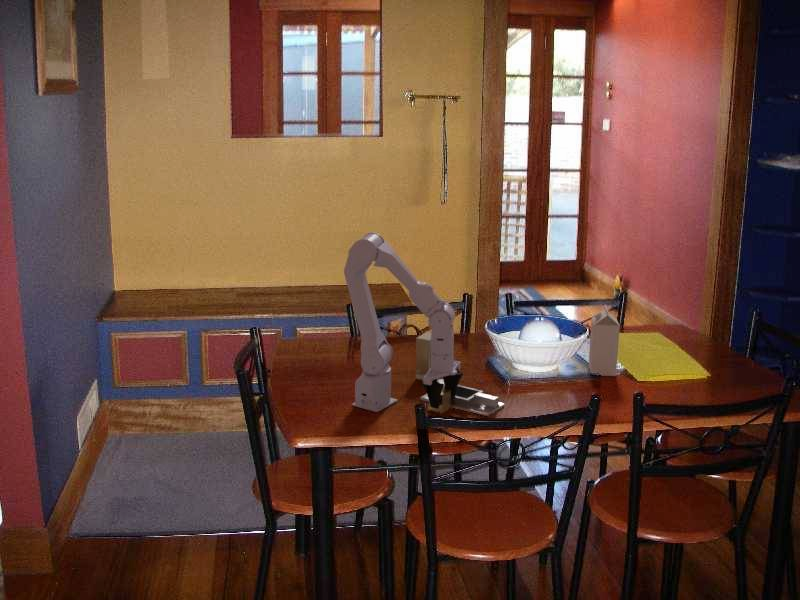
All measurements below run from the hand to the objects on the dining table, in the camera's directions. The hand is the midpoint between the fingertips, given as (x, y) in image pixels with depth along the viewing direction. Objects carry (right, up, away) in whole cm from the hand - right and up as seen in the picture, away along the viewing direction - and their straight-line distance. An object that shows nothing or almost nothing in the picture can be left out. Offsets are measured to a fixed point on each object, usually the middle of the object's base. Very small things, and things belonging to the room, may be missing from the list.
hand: (442, 403), depth 239 cm
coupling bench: (+5, -1, +5) cm, 7 cm away
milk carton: (+47, +6, +29) cm, 55 cm away
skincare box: (-3, +4, +23) cm, 24 cm away
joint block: (-1, -2, 0) cm, 2 cm away
